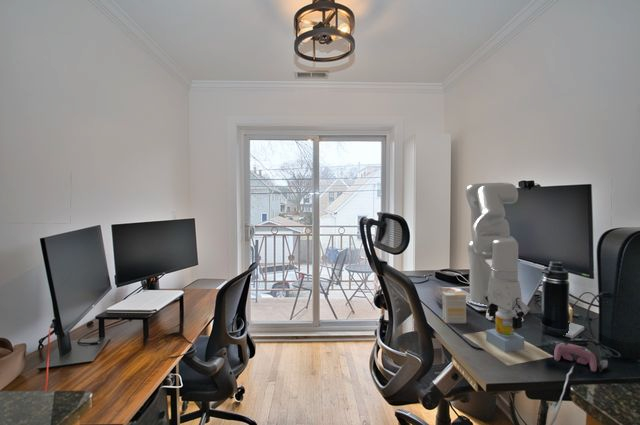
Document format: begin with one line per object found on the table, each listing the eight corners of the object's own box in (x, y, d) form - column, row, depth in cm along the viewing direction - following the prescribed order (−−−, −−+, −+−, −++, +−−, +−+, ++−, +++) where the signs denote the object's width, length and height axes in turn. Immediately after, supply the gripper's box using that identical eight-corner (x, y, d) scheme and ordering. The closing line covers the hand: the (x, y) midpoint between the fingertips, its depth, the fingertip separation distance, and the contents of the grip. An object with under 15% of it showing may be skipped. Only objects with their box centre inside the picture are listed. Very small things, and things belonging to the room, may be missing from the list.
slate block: (504, 337, 103) (504, 327, 102) (524, 349, 95) (524, 337, 95) (485, 340, 101) (485, 330, 101) (504, 352, 93) (504, 341, 93)
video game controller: (596, 374, 84) (596, 350, 86) (597, 374, 81) (597, 349, 83) (554, 362, 91) (555, 340, 93) (553, 361, 88) (554, 338, 90)
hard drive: (558, 319, 116) (545, 326, 109) (584, 326, 109) (572, 335, 102) (558, 322, 116) (545, 331, 109) (584, 330, 109) (572, 339, 102)
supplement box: (461, 320, 120) (461, 290, 119) (466, 325, 115) (466, 294, 114) (442, 320, 120) (441, 290, 120) (446, 325, 116) (445, 294, 115)
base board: (501, 330, 110) (501, 328, 110) (553, 359, 90) (553, 356, 90) (462, 337, 106) (462, 334, 106) (508, 368, 86) (508, 365, 86)
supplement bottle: (493, 329, 101) (493, 303, 101) (510, 330, 99) (511, 304, 99) (497, 336, 96) (497, 309, 96) (515, 338, 94) (516, 310, 94)
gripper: (476, 269, 104) (476, 313, 105) (518, 282, 87) (518, 335, 88) (493, 267, 106) (493, 310, 107) (537, 280, 89) (537, 331, 90)
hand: (504, 321), depth 97 cm, fingers open, 9 cm apart
